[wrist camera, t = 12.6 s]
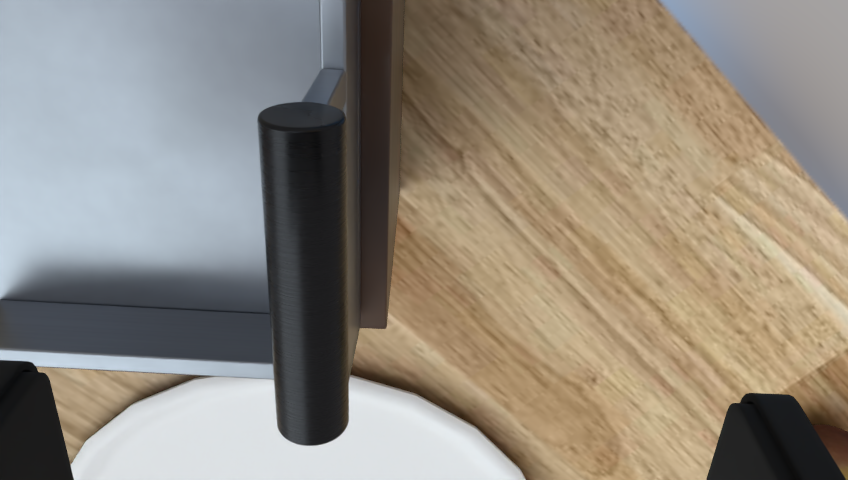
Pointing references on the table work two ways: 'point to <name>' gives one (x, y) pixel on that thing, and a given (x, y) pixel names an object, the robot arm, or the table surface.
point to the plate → (276, 456)
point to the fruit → (835, 445)
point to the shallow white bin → (185, 193)
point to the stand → (380, 151)
